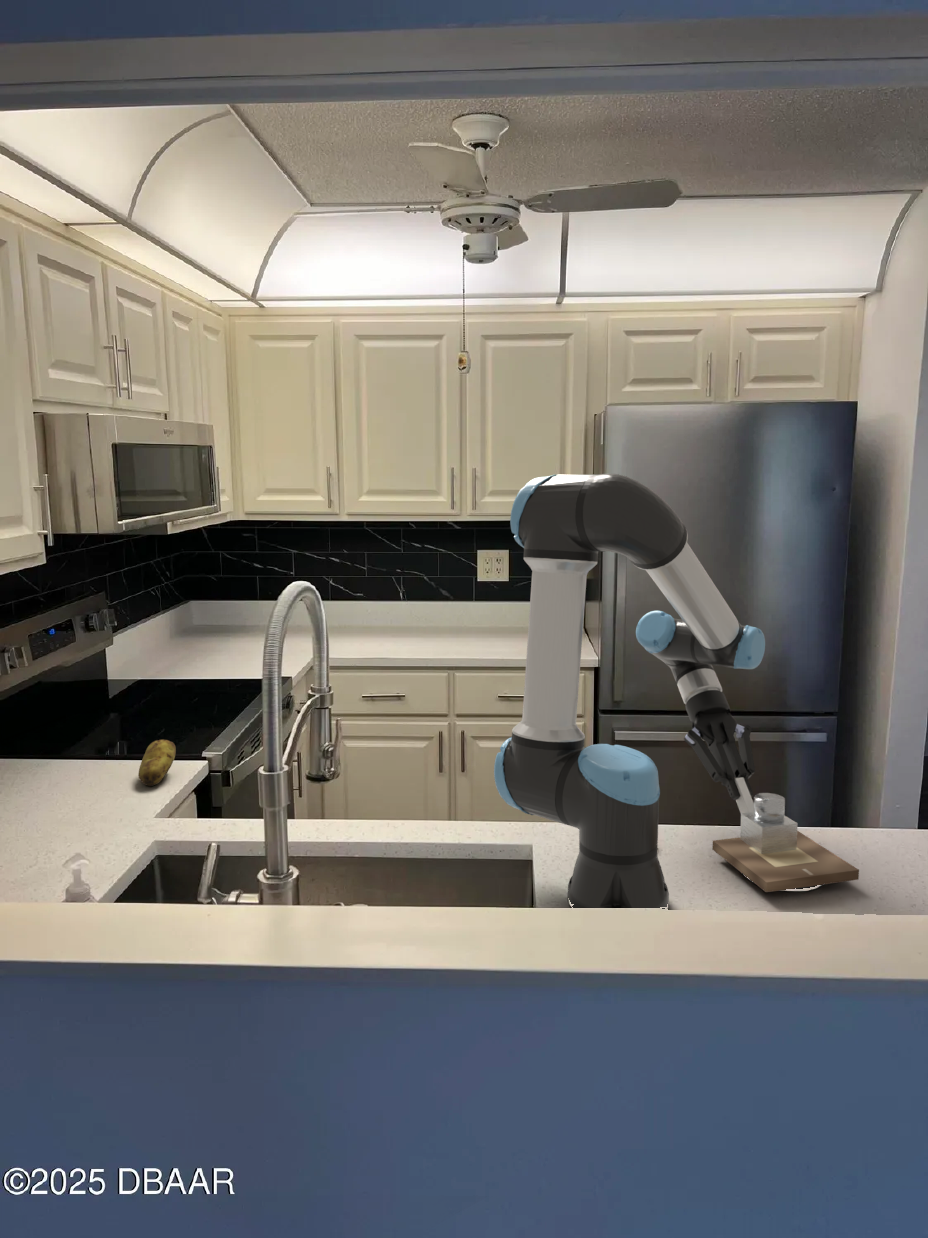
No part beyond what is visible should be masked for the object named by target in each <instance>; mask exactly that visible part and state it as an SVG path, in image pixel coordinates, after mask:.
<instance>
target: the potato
mask: <svg viewBox="0 0 928 1238" xmlns="http://www.w3.org/2000/svg"><path fill="white" fill-rule="evenodd" d="M176 751H177V750H176V745H175V743H174V742H173V741H170V740H168V739H159V740H158V739H156V740H154V741H152V742H151V743H149V745H148V746H147V748H146V750H145V753H144V754H143V757H142V760H141V762H140V766H139V768H138V778H139V781H140V782H141V783H142V784H144V785H145V786H148V787H152V786H155V785H157V784H159V783H160V782H162V780H163V779H164V776H166V774H167V773H168V772H169V771H170V769H171V767H172V765H173V762H174V761H175V757H176Z"/></svg>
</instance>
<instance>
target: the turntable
mask: <svg viewBox="0 0 928 1238" xmlns="http://www.w3.org/2000/svg"><path fill="white" fill-rule="evenodd" d="M712 851H713V852H715V853H716V854H718V856H720V857H721V858H722V859H724V860H725V861H726V862H728V864H730V865H731V866H732V867H734V868H735V869H736V870H738V871H739V872H740V873H741V874H742V873H743V874H744V875H745V876H746V877H748V878H749V879H750V880H751V881H753V882H754V883H753V882H752V883H753V884H755V885H757V886H758V887H759V888H760V889H761V890H763V892H765V893H770V892H778V891H779V890H786V889H794V888H801V887H808V886H815V885H822V886H823V885H828V884H836V883H837V884H838V883H844V882H851V881H858V880H859V878H860V877H859V876H860V869H858V868H857V867H855V866H854V865H852V864H850V863H849V862H848V861H846V860H844V859H843V858H841V857H839V856H838V855H836V854H835V853H833V852H832V851H830V850H829V849H827V848H825V847H824V846H822V845H820V843H817V842H816V841H814V840H813V839H811V838H809V837H808V836H807V835H805V834H803V833H802V832H800V831H798V830H797V850H789V851H781V852H773V853H765V854H761V853H759V852H758V851H757V850H755V849H754V848H752V847H751V846H750V845H748V844H747V843H745V842H744V841H743V840H741V839H740V836H739V837H732V838H724V839H723V838H722V839H715V840H712ZM750 880H749V881H750ZM751 881H750V882H751Z"/></svg>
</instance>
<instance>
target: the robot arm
mask: <svg viewBox="0 0 928 1238" xmlns="http://www.w3.org/2000/svg"><path fill="white" fill-rule="evenodd" d="M510 511H511V512H510V518H509V521H510V523H509V524H510V530H511V533H512V534H514V536H513V538H514V541H515V542H516V543H517V544H518V545H519V546H520V547H522V548H523V560H524V562H525V563H526V564H527V565H528V567H529V568H530V569H531V571H532V572H531V584H530V586H531V587H530V599H529V600H530V601H529V616H528V628H527V629H528V630H527V646H526V657H525V658H526V659H525V660H526V661H525V672H524V673H525V674H524V689H523V702H522V705H523V706H522V719H521V720H520V721H519V722H518V723H517V724H516V725H514V726H513V728H512V730H511V737H509V738H507V739H505V741H504V742H503V743H502V744H501V746H500V747H499V750H500V752H497V753H496V756H495V760H494V767H493V778H494V782H495V787H496V790H497V792H498V794H499V796H500V798H501V799H503V800H504V802H505V803H506V804H507V805H508V806H510V807H512V808H514V809H517V810H519V811H521V812H522V813H524V814H527V815H530V816H536V817H538V818H539V817H540V818H543V819H546V820H549V821H553V822H556V823H559V824H563V825H566V826H569V827H573V828H576V829H578V837H579V838H578V839H579V843H578V844H579V845H578V847H579V849H578V850H579V851H578V855H577V856H576V857H577V858H576V860H575V864H574V868H573V872H572V876H571V877H570V878H569V881H568V884H567V899H568V898H569V900H570V902H571V904H574V905H573V906H572V907H573V908H660V907H667V904H668V902H669V903H670V893H669V892H670V891H669V887H668V885H667V883H666V882H665V877H664V873H663V869H662V866H661V864H660V863H661V862H660V860H659V856H658V853H659V852H658V847H659V846H658V843H659V840H658V839H659V810H660V809H659V807H660V806H659V805H660V801H659V800H660V795H661V789H660V784H659V783H660V782H659V771H658V768H657V766H656V764H655V762H654V761H653V760H652V759H651V757H649V756H648V755H647V754H646V753H643V752H641V751H640V750H637V749H634V748H632V747H628V746H625V745H621V744H614V745H612V744H609V743H597V744H596V743H595V744H591V745H587V746H586V747H585V741H586V739H585V738H586V736H585V733H584V732H583V731H582V730H581V728H579V726H578V724H577V718H578V717H577V716H578V705H579V704H578V703H579V687H580V676H581V675H580V673H581V663H582V662H581V660H582V659H581V658H582V647H583V646H582V645H583V633H584V631H583V629H584V618H585V605H586V591H587V589H586V588H587V577H588V576H587V575H588V573H589V571H591V570H592V569H593V568H595V566H596V565H598V561H599V558H598V557H599V552H607V553H608V552H609V553H610V552H611V553H614V554H619V555H623V556H624V557H626V558H627V559H628V560H629V561H630V563H631V564H632V565H633V566H634V567H636V568H638V569H640V570H643V571H646V573H647V574H648V575H649V577H650V578H651V579H652V581H653V582H654V584H655V585H656V587H658V589H659V590H660V592H661V593H662V594H663V596H664V597H665V598H666V599H667V601H668V603H669V604H670V605H671V606H672V608H673V609H674V610H675V612H676V613H677V614H678V616H679V617H680V619H678V618H674V617H673V616H672V615H671V614H669V613H667V612H665V611H662V610H657V609H656V610H651V611H649V612H647V613H645V614H644V615H643V616H641V618H639V621H638V623H637V625H636V629H635V636H636V640H637V642H638V643H639V644H640V646H642V647H643V648H644V650H646V652H648V653H649V654H651V655H653V656H654V657H655V658H657V659H658V660H660V661H661V662H663V663H664V664H665V665H666V666H668V668H670V670H671V673H672V676H673V678H674V680H675V683H676V685H677V688H678V692H679V693H680V696H681V698H682V701H683V704H685V710H686V713H687V715H688V718H689V721H690V722H691V723H692V725H691V729H690V730H689V731H688V732H687V733H686V734H685V736H684V737H683V741H684V742H685V743H687V745H688V746H690V747H691V748H692V749H693V752H694V753H695V754H696V756H697V758H698V759H699V761H700V762H701V764H702V765H703V766H704V767H703V768H705V770H706V772H707V773H708V774H709V776H710V778H711V780H712V781H713V782H714V783H718V782H721V784H720V785H721V786H723V787H726V790H727V792H728V796H729V797H730V799H731V800H732V801H735V802H736V804H737V808H738V810H739V813H740V814H741V813H749V812H754V799H752V797H753V796H754V791H753V788H752V786H751V783H750V780H749V779H750V778H751V777H752V776H753V775H754V774H755V772H756V766H755V760H754V755H753V749H752V742H751V732H752V727H751V725H749V724H746V725H745V726H743V725H740V724H739V723H737V719H736V718H734V716H733V715H732V712H731V708H730V705H729V703H728V701H727V697H726V695H725V693H724V692H723V687H722V684H721V683H720V681H719V678H718V675H717V673H716V671H715V669H714V666H716V667H717V666H719V667H725V668H732V669H733V670H734V669H735V670H736V669H739V670H740V669H743V670H754V669H756V668H758V666H760V664H761V662H762V660H763V658H764V655H765V650H766V638H765V634H764V633H763V630H762V629H761V628H758V627H755V626H751V625H748V624H746V625H742V624H741V623H740V621H739V620H738V618H737V616H735V614H734V612H733V611H732V609H731V607H730V606H729V604H728V603H727V601H726V600H725V599H724V597H723V595H722V594H721V592H720V590H719V589H718V588H717V586H716V585H715V583H714V581H713V580H712V578H711V577H710V576H709V574H708V572H707V570H705V568H704V566H703V565H702V562H701V561H700V560H699V558H698V557H697V555H696V554H695V553H694V550H693V549H692V548H691V546H690V545H689V543H688V539H689V534H688V530H687V528H686V526H685V524H684V523H683V521H682V519H681V518H680V516H679V515H678V514H677V512H676V511H675V509H673V508H672V507H671V505H670V504H669V503H667V502H666V501H665V500H664V499H663V498H662V497H661V496H660V495H659V494H657V493H656V492H655V491H654V490H653V489H650V488H649V487H648V486H646V485H645V484H643V483H641V482H639V481H638V480H636V479H634V478H631V477H629V476H626V475H622V474H619V473H601V474H600V473H599V474H596V473H595V474H593V473H591V474H582V473H581V474H552V475H547V476H539V477H538V476H537V477H535V478H532V479H531V480H529V481H528V482H526V483H525V485H524V486H523V487H522V488H521V489H519V491H518V492H517V495H516V497H515V498H514V501H513V504H512V507H511V510H510ZM735 734H736V736H734V735H735ZM735 737H736V738H737V739H738V740H737V743H738V747H737V745H736V738H735ZM662 909H665V908H662Z"/></svg>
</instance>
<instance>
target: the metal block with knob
mask: <svg viewBox="0 0 928 1238" xmlns="http://www.w3.org/2000/svg"><path fill="white" fill-rule="evenodd" d="M753 803H754V812H749V813H740V831H739V832H740V834H739V835H740V836H739V837H740V839H741V840H743V841H744V842H745V843H747V844H748V845H750V846H751V847H752V848H754V849H755V850H757V851H758V852H759V853H761V854H765V853H773V852H781V851H789V850H797V831H798V822H796V821H795V820H792V819H791V818H790V817H788V816H786V815H785V811H786V810H785V808H786V807H785V806H786V798H785V797H784V796H782V795H779V794H777V793H770V792H759V793H756V794H754V795H753Z"/></svg>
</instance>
